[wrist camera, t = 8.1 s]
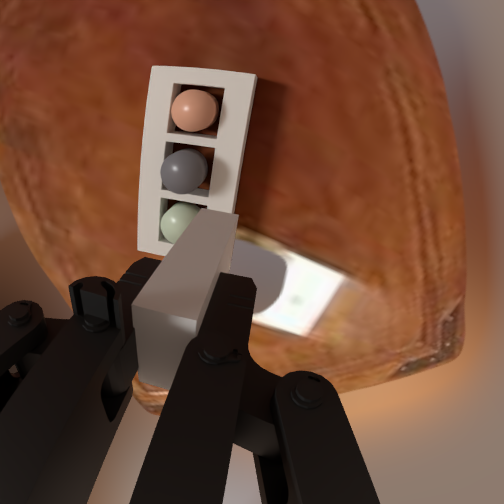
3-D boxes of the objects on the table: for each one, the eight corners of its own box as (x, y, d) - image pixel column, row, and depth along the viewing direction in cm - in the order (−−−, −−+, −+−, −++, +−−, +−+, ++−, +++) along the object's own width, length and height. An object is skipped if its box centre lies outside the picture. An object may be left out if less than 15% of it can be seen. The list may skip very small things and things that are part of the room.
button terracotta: (182, 89, 33) (174, 87, 30) (222, 93, 33) (216, 91, 30) (177, 127, 35) (168, 129, 32) (215, 132, 35) (210, 134, 32)
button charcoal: (171, 146, 35) (162, 149, 32) (210, 151, 34) (204, 155, 32) (167, 184, 37) (158, 191, 34) (205, 190, 37) (199, 197, 34)
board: (161, 68, 32) (152, 65, 30) (257, 77, 32) (255, 74, 30) (146, 241, 43) (137, 250, 41) (227, 257, 43) (223, 268, 40)
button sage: (169, 198, 39) (161, 205, 36) (205, 204, 39) (199, 212, 36) (167, 232, 41) (159, 241, 38) (201, 238, 41) (195, 248, 38)
